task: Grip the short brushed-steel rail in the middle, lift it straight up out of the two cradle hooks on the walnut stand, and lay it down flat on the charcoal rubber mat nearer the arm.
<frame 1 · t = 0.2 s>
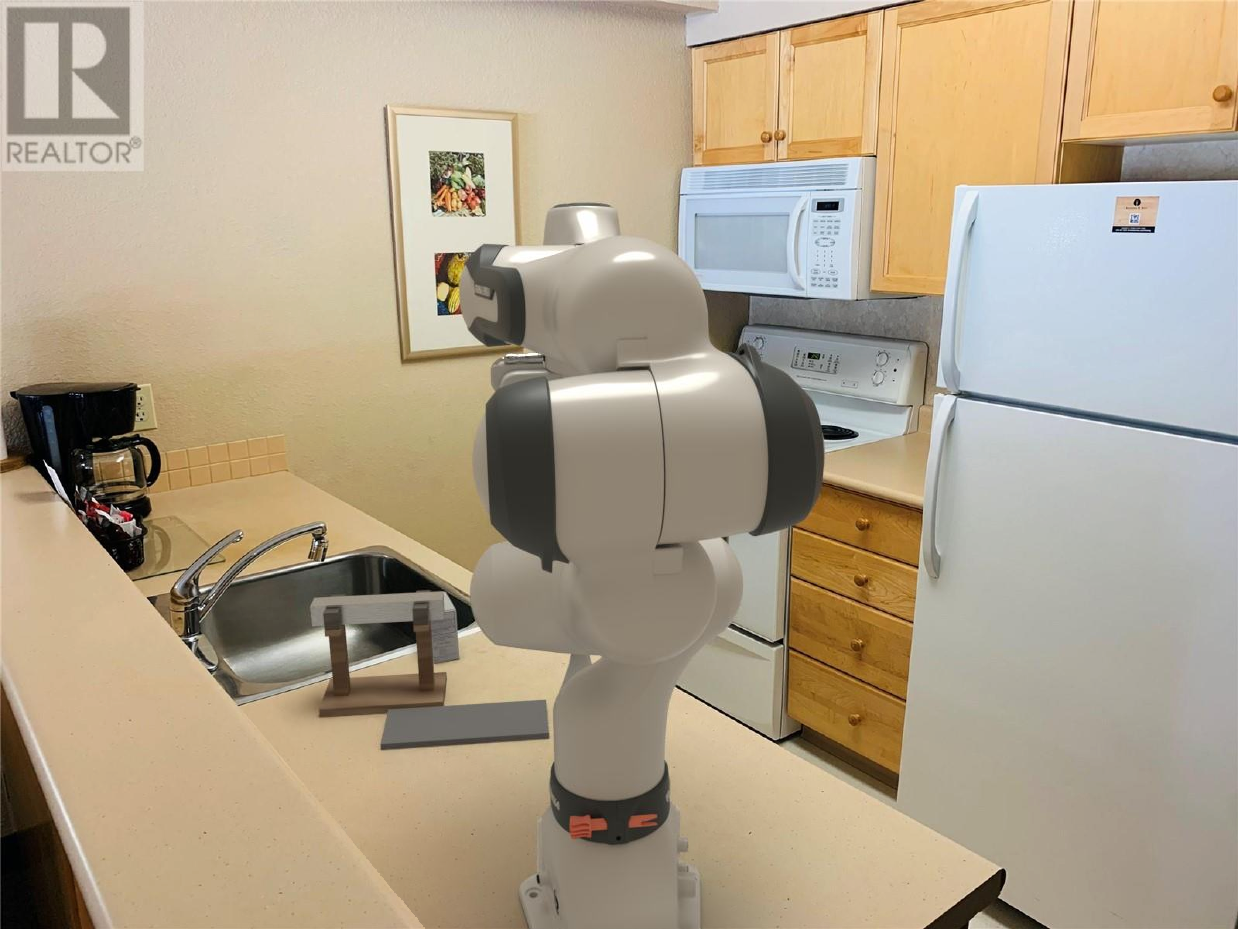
hand: (584, 466, 112), 39 cm above the countertop, tool pointing down, fingers open, 8 cm apart
rubber mat: (467, 726, 131), on the countertop
steel rail: (379, 618, 135), point 12 cm above the countertop, touching rail stand
rail stand: (385, 697, 138), on the countertop
flask: (581, 704, 137), on the countertop
medicine box: (440, 653, 153), on the countertop
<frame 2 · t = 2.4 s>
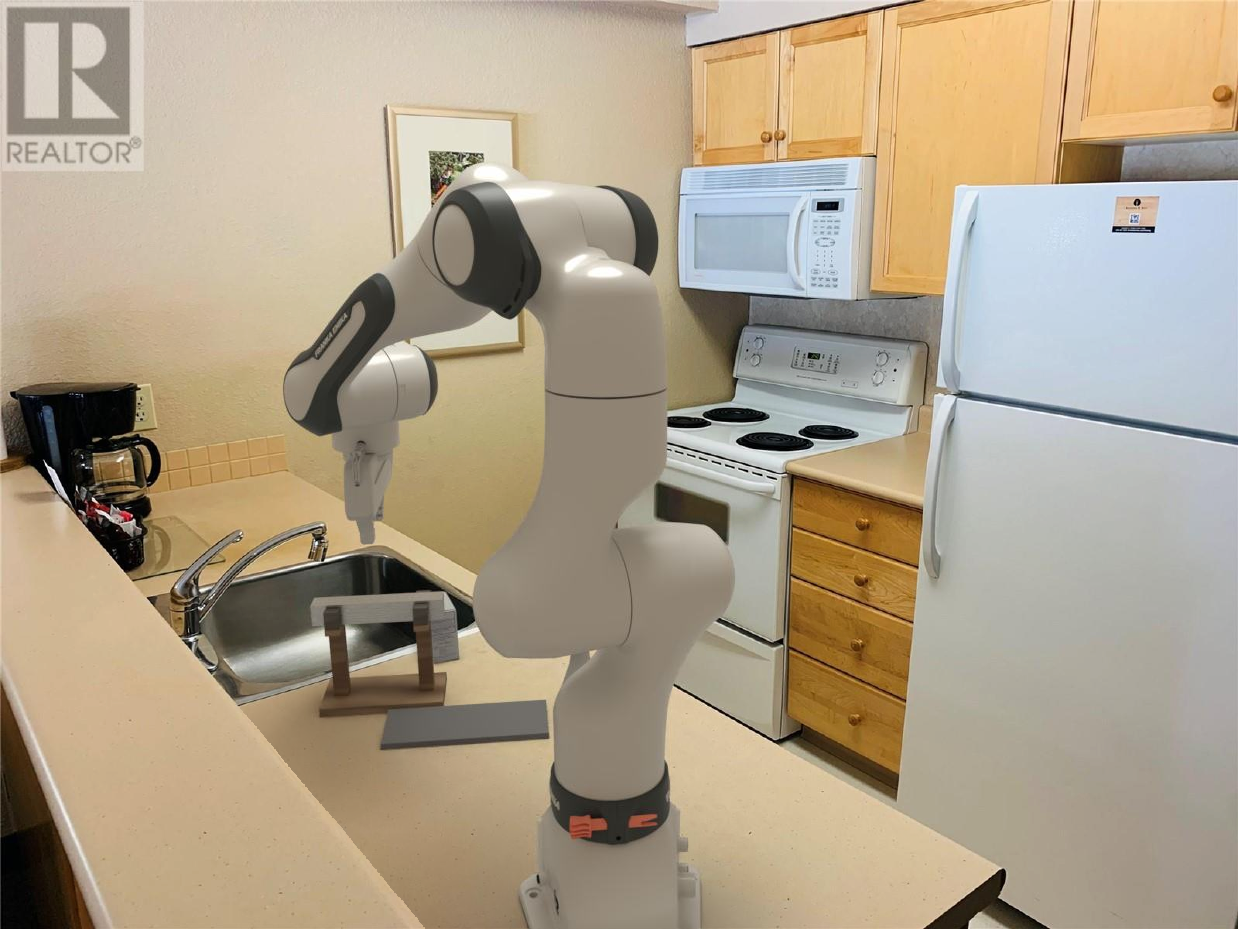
hand: (372, 530, 132), 25 cm above the countertop, tool pointing down, fingers open, 8 cm apart
nothing on the countertop moved.
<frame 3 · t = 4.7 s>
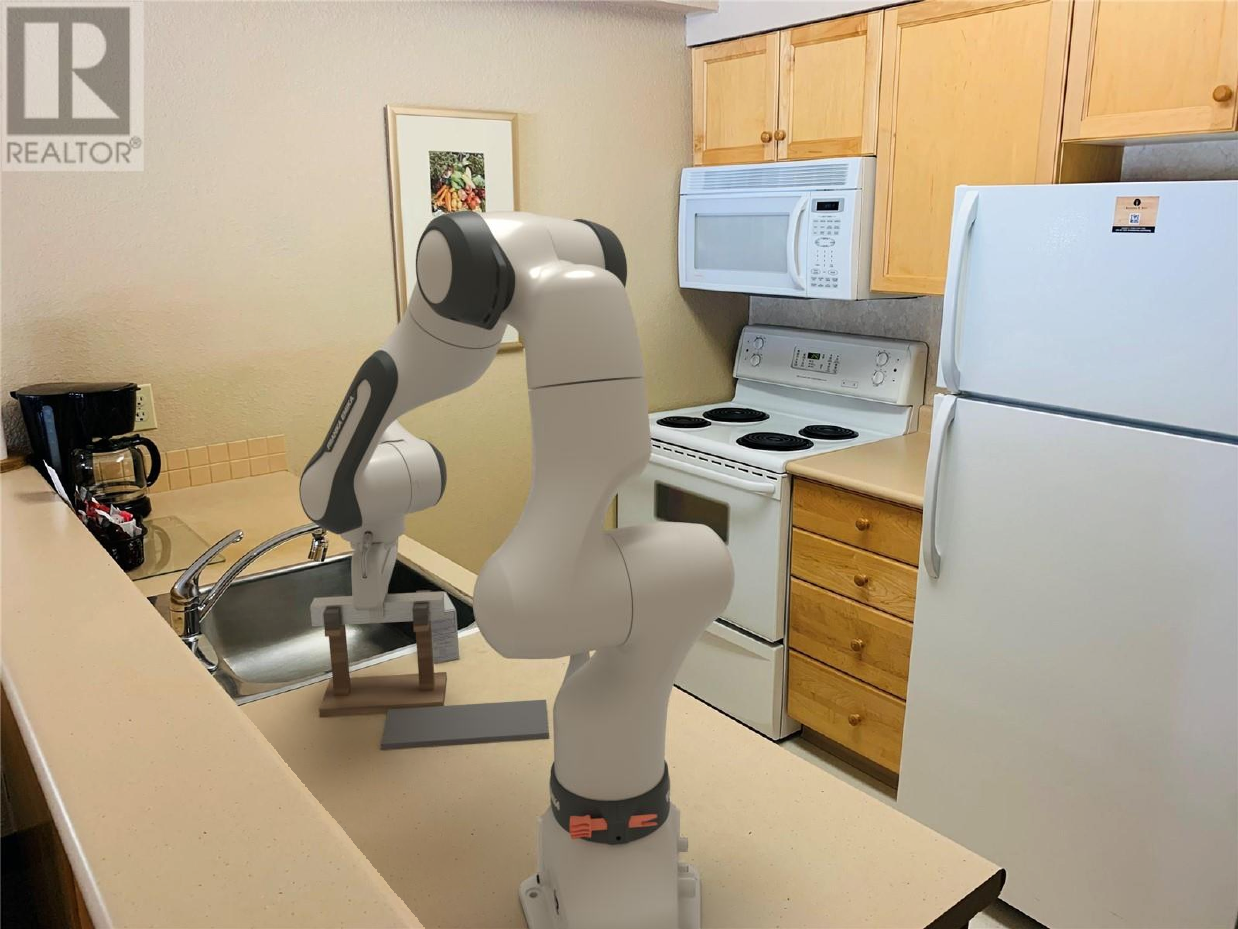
hand: (379, 614, 135), 13 cm above the countertop, tool pointing down, fingers closed on steel rail, 3 cm apart
steel rail: (379, 618, 135), point 12 cm above the countertop, touching gripper, rail stand
everything else where it was.
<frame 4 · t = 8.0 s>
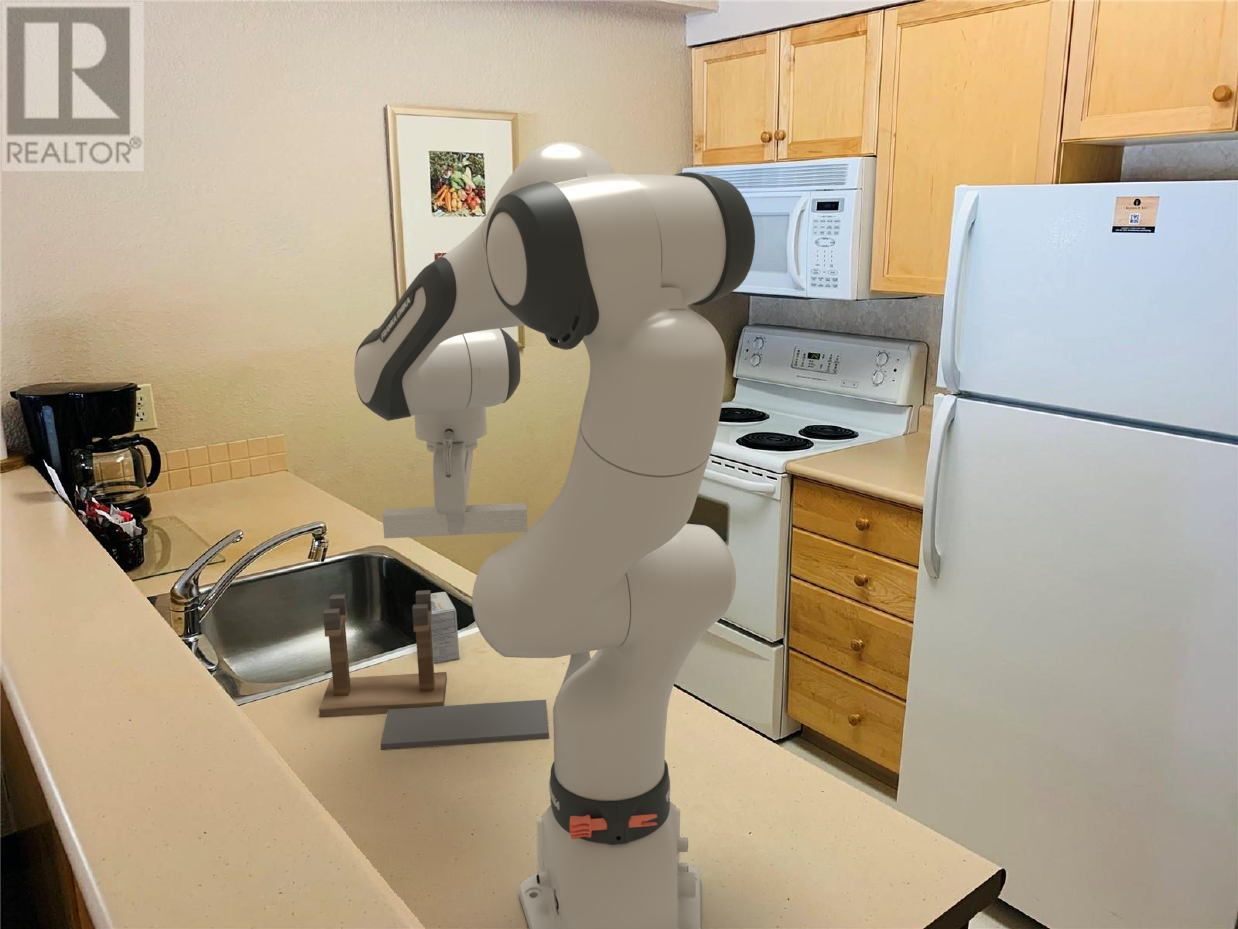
hand: (456, 527, 123), 29 cm above the countertop, tool pointing down, fingers closed on steel rail, 3 cm apart
steel rail: (456, 531, 123), point 28 cm above the countertop, touching gripper
everything else where it was.
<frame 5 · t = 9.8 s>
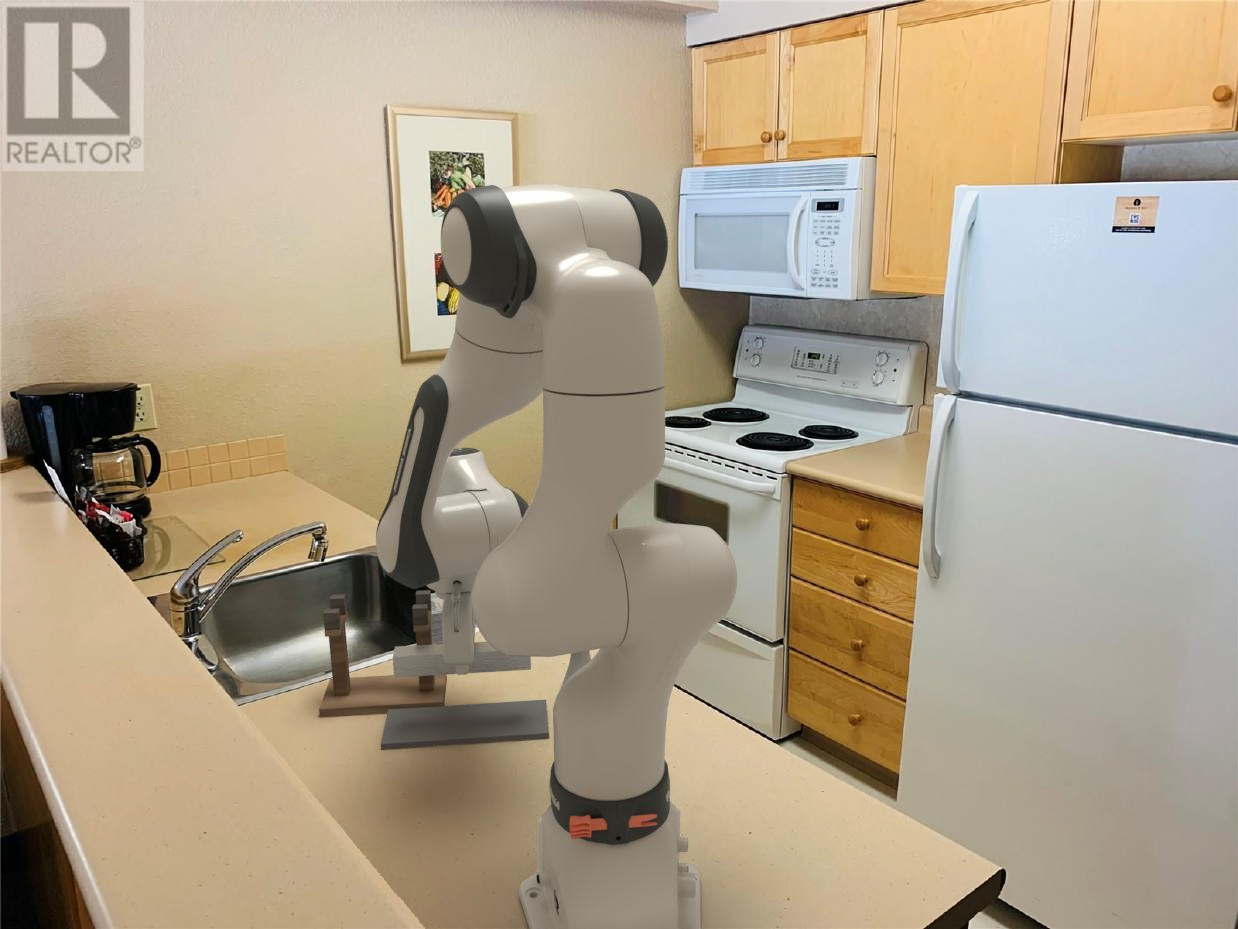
hand: (463, 664, 128), 9 cm above the countertop, tool pointing down, fingers closed on steel rail, 3 cm apart
steel rail: (463, 668, 129), point 9 cm above the countertop, touching gripper
everything else where it was.
when the fingers open (3 cm above the countertop, at t = 11.5 s): steel rail drops 1 cm, resting on rubber mat.
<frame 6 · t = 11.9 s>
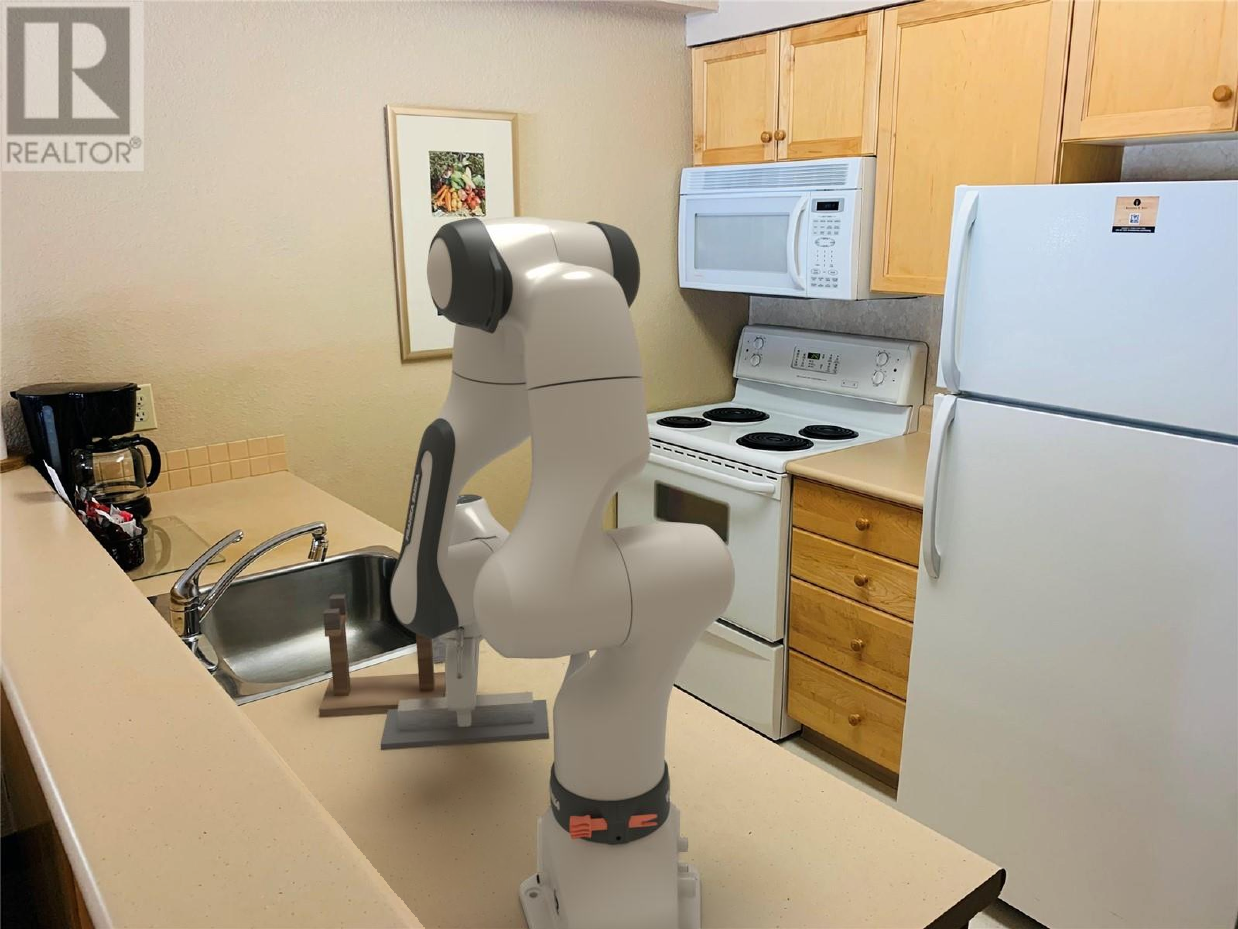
hand: (466, 707, 130), 3 cm above the countertop, tool pointing down, fingers open, 7 cm apart
steel rail: (467, 721, 130), point 1 cm above the countertop, touching rubber mat
everything else where it was.
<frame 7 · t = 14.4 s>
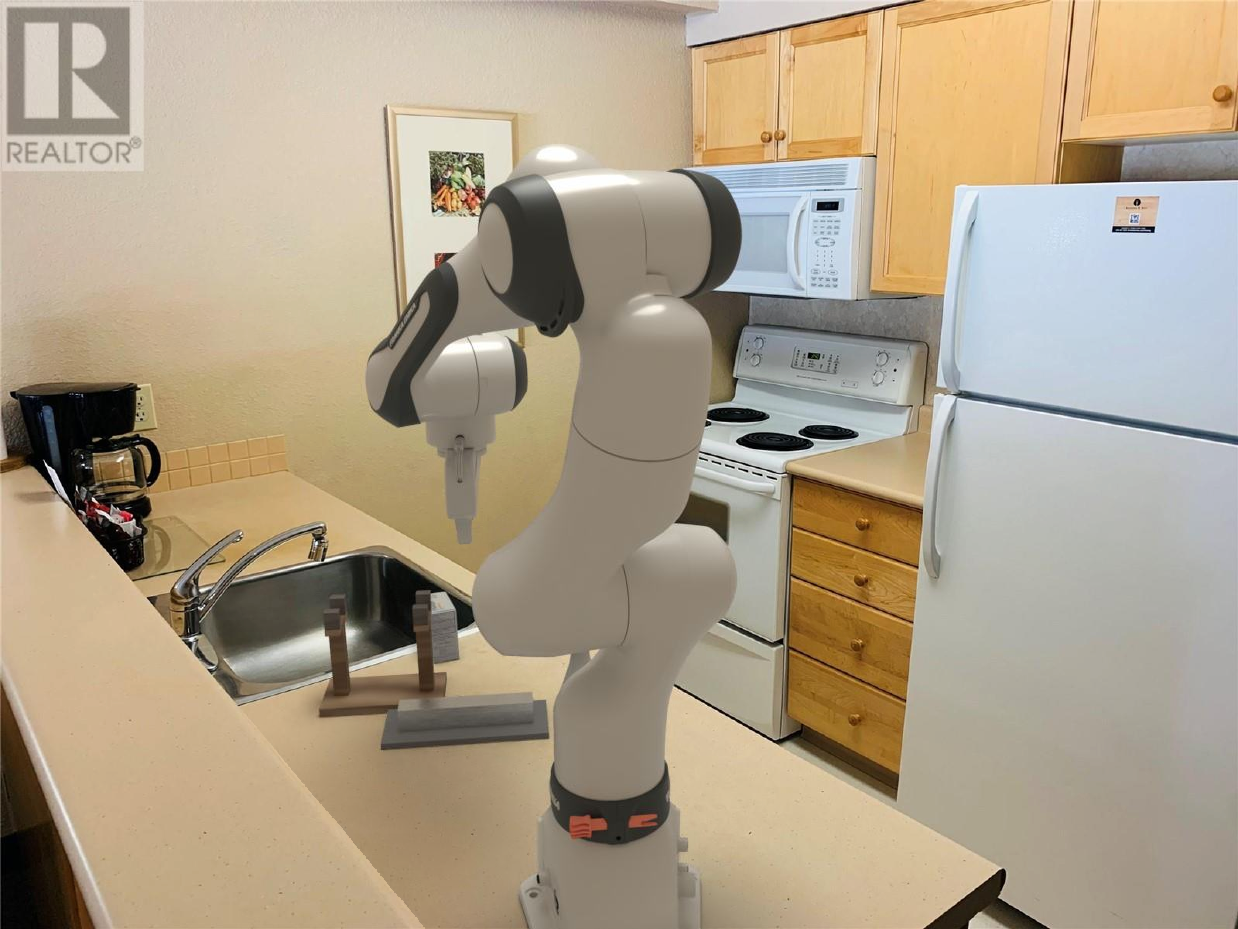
hand: (466, 530, 126), 27 cm above the countertop, tool pointing down, fingers open, 8 cm apart
nothing on the countertop moved.
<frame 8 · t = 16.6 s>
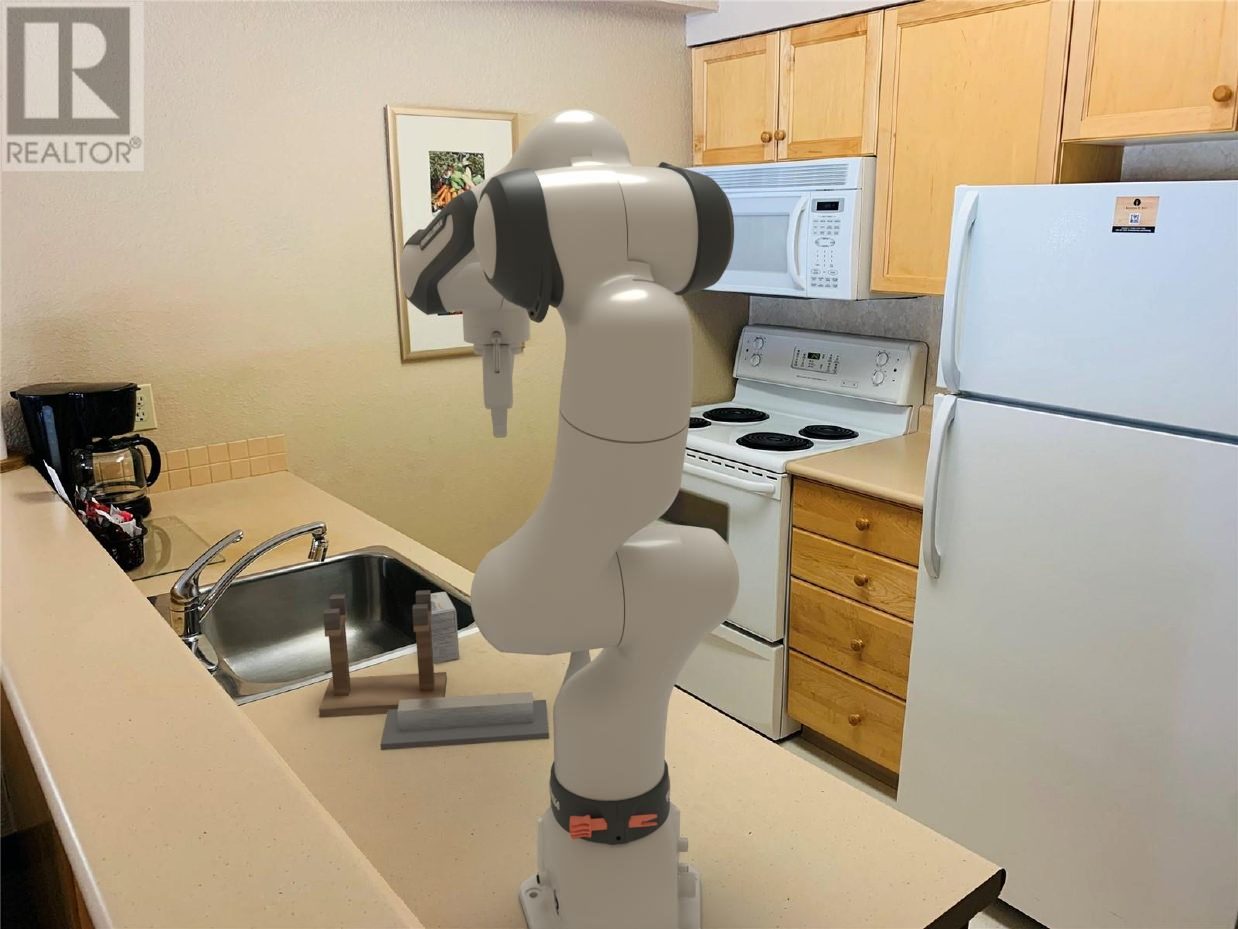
hand: (500, 428, 131), 39 cm above the countertop, tool pointing down, fingers open, 8 cm apart
nothing on the countertop moved.
at the end: steel rail 0.1 cm off-centre on the rubber mat, point 0.8 cm above the rubber mat's base; steel rail touching rubber mat; the gripper is holding nothing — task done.
